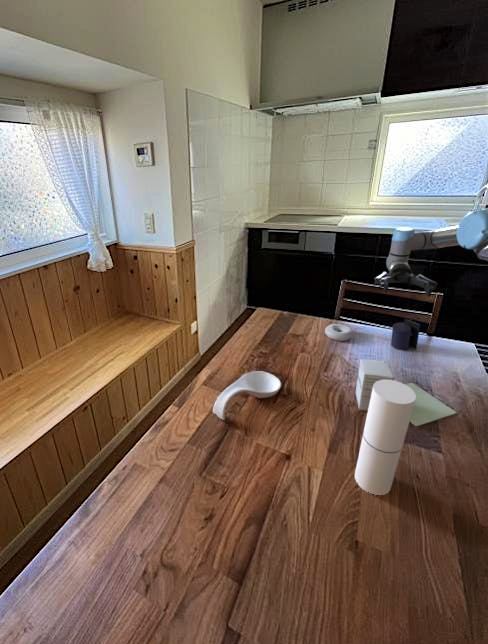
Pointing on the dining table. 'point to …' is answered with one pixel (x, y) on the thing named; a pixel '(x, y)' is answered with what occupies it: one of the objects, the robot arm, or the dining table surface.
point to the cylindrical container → (384, 435)
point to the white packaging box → (370, 379)
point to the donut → (338, 332)
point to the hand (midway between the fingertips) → (407, 291)
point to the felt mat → (427, 407)
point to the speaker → (405, 335)
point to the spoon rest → (248, 389)
